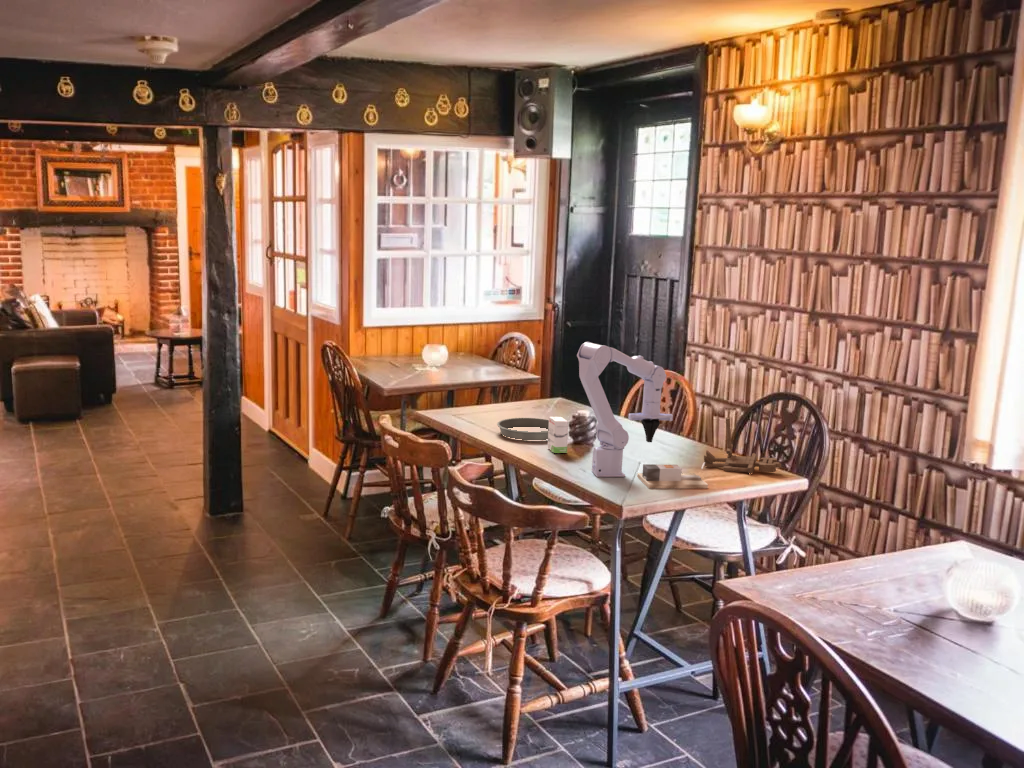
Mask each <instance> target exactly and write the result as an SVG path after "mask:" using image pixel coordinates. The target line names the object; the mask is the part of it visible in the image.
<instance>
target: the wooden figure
mask: <svg viewBox="0 0 1024 768" xmlns="http://www.w3.org/2000/svg"><path fill="white" fill-rule="evenodd" d="M725 427H726V443H727V444H726V445H727V448H726V454H727V456H726V457H716V456H714V455H713V454H712V453H711V452H710V451H709V450H706V451H705V455H704V456H703V461H704V462H703V463H702V465H701V470H703V469H704V467H705V466H707V467H706V468H722V470H725V471H724V472H739V473H740V472H741V473H747V474H748V473H750V474H751V473H754V471H755V468H756V467H758V471H759V472H763V473H774V472H777V468H780V469H781V468H782V463H781V462H780V461H778V458H775V457H761V458H760V459H759V461H757V454H756V453H755V452H753V453H752V454H751V456H746V455H745V456H742V455H741V456H739V455H735V454H733V447H734V445H733V443H732V434H731V433H732V431H731V418H730V417H725ZM751 475H752V474H751Z"/></svg>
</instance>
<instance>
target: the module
mask: <svg viewBox="0 0 1024 768" xmlns="http://www.w3.org/2000/svg"><path fill="white" fill-rule="evenodd" d="M656 465H657V466H658V467H659V468H660V476H659V481H681V474H682V472H683V468H682V467H680V466H679V465H678V464H656Z"/></svg>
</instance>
